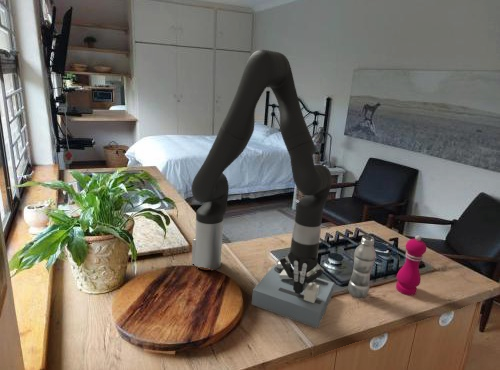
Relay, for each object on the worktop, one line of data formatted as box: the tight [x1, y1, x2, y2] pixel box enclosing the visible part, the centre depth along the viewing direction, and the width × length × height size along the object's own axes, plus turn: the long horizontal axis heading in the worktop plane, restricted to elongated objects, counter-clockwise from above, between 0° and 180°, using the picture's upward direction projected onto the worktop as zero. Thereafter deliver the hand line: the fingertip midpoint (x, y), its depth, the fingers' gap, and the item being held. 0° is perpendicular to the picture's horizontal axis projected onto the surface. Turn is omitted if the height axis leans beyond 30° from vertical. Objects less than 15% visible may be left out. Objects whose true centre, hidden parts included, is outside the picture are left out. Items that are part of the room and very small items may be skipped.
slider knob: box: [304, 282, 319, 303], centre depth 100 cm, size 3×4×4 cm
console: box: [251, 264, 335, 329], centre depth 107 cm, size 20×17×6 cm
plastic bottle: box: [347, 235, 377, 299], centre depth 110 cm, size 6×7×20 cm
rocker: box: [279, 268, 311, 279], centre depth 108 cm, size 9×5×1 cm, turn 65°
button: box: [276, 259, 284, 271], centre depth 114 cm, size 3×3×2 cm
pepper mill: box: [395, 234, 427, 296], centre depth 115 cm, size 7×7×20 cm
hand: (298, 292), depth 102 cm, fingers closed
